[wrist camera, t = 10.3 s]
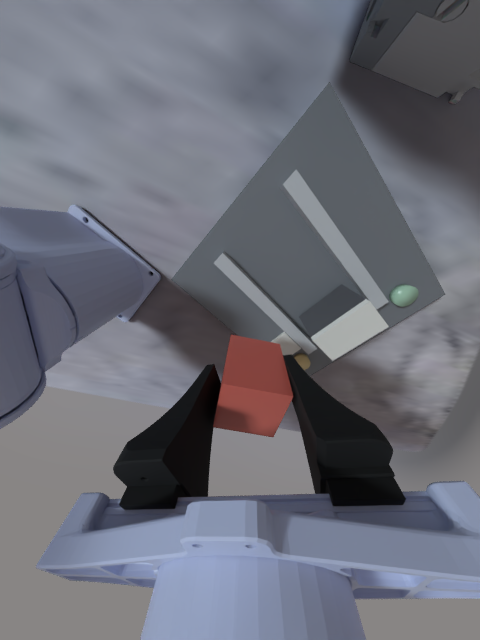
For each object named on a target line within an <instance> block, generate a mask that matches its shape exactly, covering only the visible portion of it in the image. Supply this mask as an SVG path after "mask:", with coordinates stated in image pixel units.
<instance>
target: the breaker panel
mask: <svg viewBox="0 0 480 640" xmlns="http://www.w3.org/2000/svg"><path fill="white" fill-rule="evenodd" d="M171 280H173V281H174V282H175V283H176V284H177V285H179V286H180V287H181V288H182V289H183V290H184V291H186V292H187V293H188V294H189V295H190V296H191V297H193V298H194V299H195V300H196V301H197V302H199V303H200V304H201V305H202V306H203V307H204V308H206V309H207V310H208V311H209V312H210V313H211V314H213V315H214V316H215V317H216V318H217V319H219V320H220V321H221V322H222V323H223V324H224V325H226V326H227V327H228V328H229V329H230V330H231V331H233V332H234V333H235V334H236V335H237V336H242V337H247V338H252V339H257V340H262V341H267V342H273V343H278V344H280V346H281V350H282V354H283V355H290V354H291V355H293V357H294V358H295V360H296V361H297V362H298V364H299V365H300V366H301V367H302V369H303V370H304V371H305V372H306V373H307V374H308V375H309V376H311V375H312V374H314V373H316V372H317V371H319V370H321V369H322V368H324V367H326V366H327V365H329V364H331V363H332V362H334V361H336V360H337V359H339V358H341V357H342V356H344V355H346V354H347V353H349V352H351V351H352V350H354V349H356V348H357V347H359V346H360V345H362V344H364V343H365V342H367V341H369V340H370V339H372V338H374V337H375V336H377V335H379V334H380V333H382V332H384V331H385V330H387V329H389V328H390V327H392V326H394V325H395V324H397V323H399V322H400V321H402V320H404V319H405V318H407V317H408V316H410V315H412V314H413V313H415V312H417V311H418V310H420V309H422V308H423V307H425V306H427V305H428V304H430V303H432V302H433V301H435V300H437V299H438V298H440V297H442V296H443V295H445V293H444V291H443V289H442V287H441V285H440V284H439V282H438V280H437V278H436V276H435V274H434V273H433V271H432V269H431V267H430V265H429V263H428V262H427V260H426V258H425V256H424V254H423V252H422V251H421V249H420V247H419V245H418V243H417V241H416V240H415V238H414V236H413V234H412V232H411V230H410V229H409V227H408V225H407V223H406V221H405V219H404V218H403V216H402V214H401V212H400V210H399V208H398V207H397V205H396V203H395V201H394V199H393V197H392V196H391V194H390V192H389V190H388V188H387V186H386V185H385V183H384V181H383V179H382V177H381V175H380V173H379V172H378V170H377V168H376V166H375V164H374V162H373V161H372V159H371V157H370V155H369V153H368V151H367V150H366V148H365V146H364V144H363V142H362V140H361V139H360V137H359V135H358V133H357V131H356V129H355V128H354V126H353V124H352V122H351V120H350V118H349V117H348V115H347V113H346V111H345V109H344V107H343V106H342V104H341V102H340V100H339V98H338V96H337V95H336V93H335V91H334V89H333V87H332V85H331V84H330V82H329V83H328V85H327V86H326V87H325V88H324V90H323V91H322V92H321V93H320V95H319V96H318V97H317V98H316V100H315V101H314V102H313V103H312V104H311V106H310V107H309V108H308V109H307V111H306V112H305V113H304V114H303V116H302V117H301V118H300V119H299V121H298V122H297V123H296V124H295V126H294V127H293V128H292V129H291V131H290V132H289V133H288V134H287V136H286V137H285V138H284V139H283V141H282V142H281V143H280V144H279V146H278V147H277V148H276V149H275V151H274V152H273V153H272V154H271V156H270V157H269V158H268V159H267V161H266V162H265V163H264V164H263V166H262V167H261V168H260V169H259V171H258V172H257V173H256V174H255V176H254V177H253V178H252V179H251V181H250V182H249V183H248V184H247V186H246V187H245V188H244V189H243V191H242V192H241V193H240V194H239V196H238V197H237V198H236V199H235V201H234V202H233V203H232V204H231V206H230V207H229V208H228V209H227V211H226V212H225V213H224V214H223V216H222V217H221V218H220V219H219V221H218V222H217V223H216V224H215V226H214V227H213V228H212V229H211V231H210V232H209V233H208V234H207V236H206V237H205V238H204V239H203V241H202V242H201V243H200V244H199V246H198V247H197V248H196V249H195V251H194V252H193V253H192V254H191V256H190V257H189V258H188V259H187V261H186V262H185V263H184V264H183V266H182V267H181V268H180V269H179V271H178V272H177V273H176V274H175V276H174V277H173V278H172V279H171ZM341 284H342V285H344V286H345V287H347V288H349V289H350V290H352V291H354V292H355V293H357V294H359V295H360V296H362V297H364V298H365V299H367V300H369V301H370V302H371V303H372V305H373V306H374V307H375V309H376V310H377V311H378V313H379V314H380V315H381V317H382V318H383V319H384V321H385V322H386V323H387V325H388V326H389V327H388V328H386V329H384V330H383V331H381V332H380V333H378V334H376V335H375V336H373V337H371V338H370V339H368V340H366V341H365V342H363V343H361V344H360V345H358V346H356V347H355V348H353V349H352V350H350V351H348V352H347V353H345V354H343V355H342V356H340V357H338V358H337V359H335V360H333V361H332V360H331V359H330V358H329V357H328V356H327V355H326V354H325V353H324V352H323V351H322V350H321V349H320V348H319V347H318V346H317V345H316V344H315V343H314V342H313V341H312V339H311V337H310V335H309V334H308V332H307V330H306V328H305V326H304V325H303V323H302V321H301V319H300V318H299V316H301V315H302V314H303V313H304V312H306V311H307V310H308V309H310V308H311V307H312V306H314V305H315V304H316V303H317V302H319V301H320V300H321V299H323V298H324V297H325V296H327V295H328V294H329V293H331V292H332V291H333V290H334V289H336V288H337V287H338V286H340V285H341Z"/></svg>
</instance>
